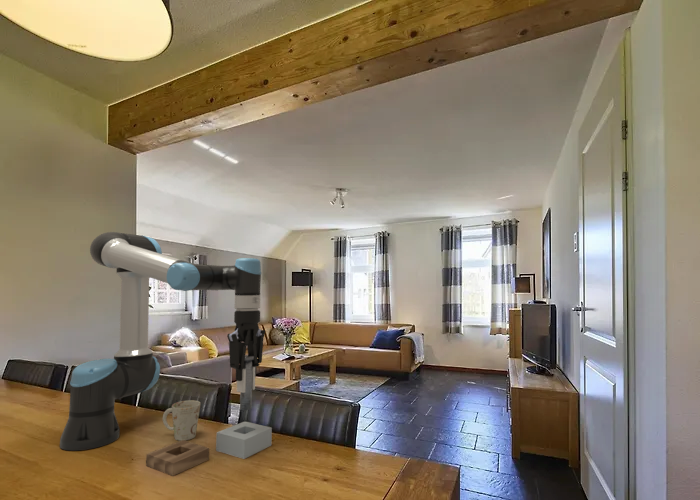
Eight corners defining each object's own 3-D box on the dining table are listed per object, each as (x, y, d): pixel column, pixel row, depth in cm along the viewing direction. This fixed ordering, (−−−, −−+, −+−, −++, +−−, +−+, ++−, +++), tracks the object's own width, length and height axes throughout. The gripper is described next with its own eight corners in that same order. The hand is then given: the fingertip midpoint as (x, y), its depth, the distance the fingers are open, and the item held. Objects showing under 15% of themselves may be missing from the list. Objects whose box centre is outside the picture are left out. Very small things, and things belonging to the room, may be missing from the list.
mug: (189, 443, 119) (190, 408, 120) (152, 440, 121) (153, 406, 122) (204, 433, 127) (205, 401, 128) (169, 430, 129) (171, 398, 130)
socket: (216, 450, 113) (216, 432, 114) (244, 438, 123) (244, 421, 123) (243, 459, 108) (244, 439, 108) (271, 445, 117) (271, 427, 118)
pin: (235, 409, 116) (236, 356, 117) (245, 405, 119) (246, 354, 121) (245, 411, 113) (246, 357, 115) (256, 407, 117) (257, 355, 118)
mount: (146, 465, 104) (146, 453, 104) (182, 450, 113) (183, 440, 114) (172, 475, 98) (173, 463, 98) (208, 459, 108) (209, 447, 108)
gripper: (235, 311, 110) (234, 398, 108) (275, 308, 124) (274, 386, 122) (217, 310, 114) (215, 395, 112) (257, 308, 128) (256, 383, 126)
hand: (245, 390), depth 117 cm, fingers closed on pin, 3 cm apart
